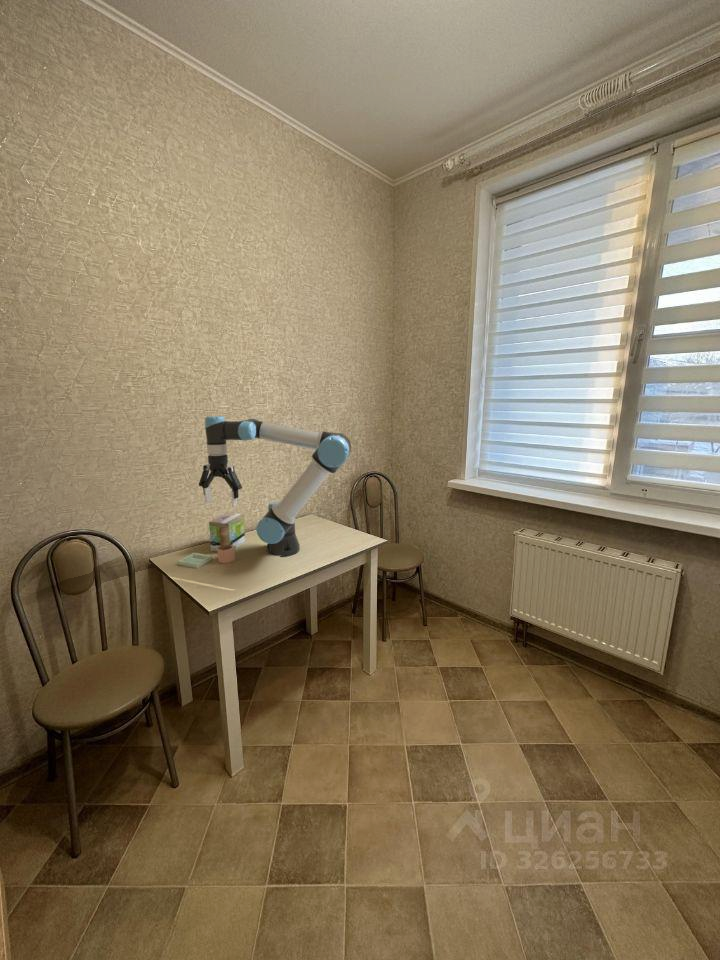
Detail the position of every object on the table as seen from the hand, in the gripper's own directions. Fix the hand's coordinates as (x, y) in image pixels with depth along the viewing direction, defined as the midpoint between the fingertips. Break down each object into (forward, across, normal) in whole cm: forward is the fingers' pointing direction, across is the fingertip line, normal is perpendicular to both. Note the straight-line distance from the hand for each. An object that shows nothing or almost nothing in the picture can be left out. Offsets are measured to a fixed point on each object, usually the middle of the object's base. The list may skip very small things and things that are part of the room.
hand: (221, 504), depth 161 cm
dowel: (+25, 0, 0) cm, 25 cm away
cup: (+26, 0, 0) cm, 26 cm away
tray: (+26, +11, +6) cm, 29 cm away
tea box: (+26, +10, -14) cm, 31 cm away
